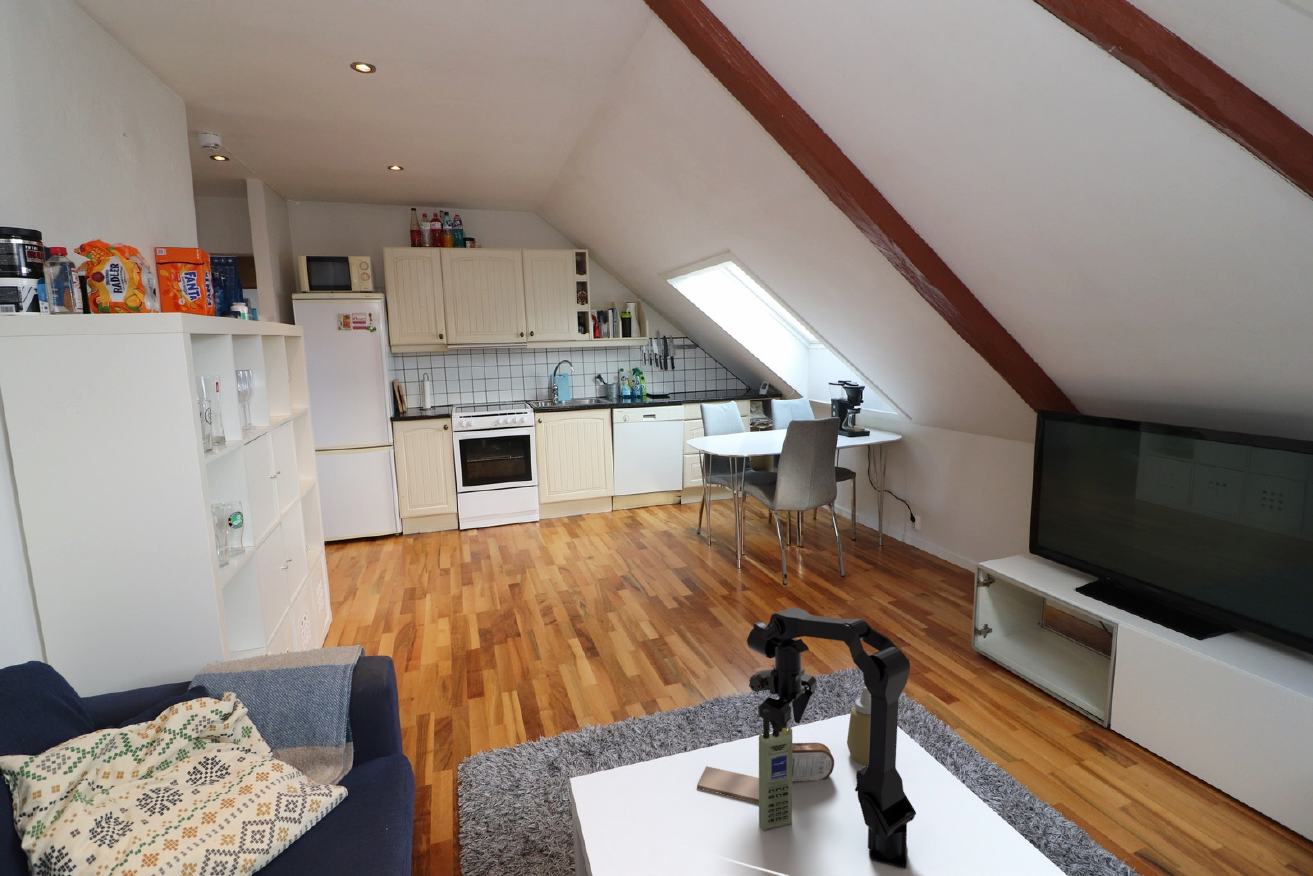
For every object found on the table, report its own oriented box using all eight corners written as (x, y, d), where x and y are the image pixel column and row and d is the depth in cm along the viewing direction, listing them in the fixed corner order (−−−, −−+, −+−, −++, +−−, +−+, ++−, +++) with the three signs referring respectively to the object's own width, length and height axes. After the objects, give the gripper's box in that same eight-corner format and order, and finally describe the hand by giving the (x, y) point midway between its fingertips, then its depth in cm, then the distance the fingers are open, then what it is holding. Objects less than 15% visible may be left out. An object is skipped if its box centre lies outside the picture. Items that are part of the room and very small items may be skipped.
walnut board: (775, 786, 140) (775, 781, 140) (768, 807, 134) (768, 801, 134) (706, 771, 146) (706, 766, 146) (697, 790, 140) (696, 785, 140)
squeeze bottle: (887, 771, 145) (889, 696, 143) (852, 771, 145) (853, 697, 143) (875, 749, 153) (877, 679, 151) (842, 750, 153) (843, 679, 151)
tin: (829, 774, 144) (831, 740, 143) (834, 783, 141) (837, 748, 140) (765, 777, 142) (767, 742, 142) (769, 786, 139) (771, 750, 138)
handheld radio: (763, 833, 126) (763, 716, 124) (757, 822, 130) (756, 707, 127) (794, 826, 128) (794, 710, 125) (786, 815, 131) (787, 702, 129)
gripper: (773, 642, 152) (774, 704, 153) (735, 673, 137) (736, 741, 138) (817, 653, 145) (817, 717, 147) (783, 686, 130) (784, 757, 132)
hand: (788, 732), depth 141 cm, fingers open, 9 cm apart
